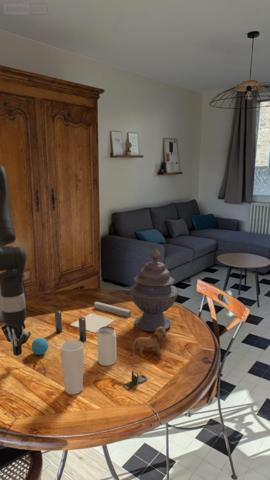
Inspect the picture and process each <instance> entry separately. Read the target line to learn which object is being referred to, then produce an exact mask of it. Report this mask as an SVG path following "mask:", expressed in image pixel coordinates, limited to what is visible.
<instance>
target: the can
mask: <svg viewBox="0 0 270 480" xmlns="http://www.w3.org/2000/svg"><path fill="white" fill-rule="evenodd" d="M115 330H116V329H115V328H114V327H113V326H109V325H107V326H104V327H101V328H99V330H98V332H97V337H96V338H97V339H96V341H97V362H98V364H100V365H101V366H104V367H110V366H113V365H115V363H116V362H117V334H116V331H115Z"/></svg>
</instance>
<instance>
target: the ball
mask: <svg viewBox="0 0 270 480" xmlns="http://www.w3.org/2000/svg"><path fill="white" fill-rule="evenodd" d="M48 349H49V342H48V340H47V339H46V338H44V337H38V338H36V339H34V340H33V341H32V342H31V351H32V352H33V353H34V354H35V355H38V356H40V355H43V354H45V353H46V352H47V351H48Z"/></svg>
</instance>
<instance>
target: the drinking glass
mask: <svg viewBox="0 0 270 480" xmlns="http://www.w3.org/2000/svg"><path fill="white" fill-rule="evenodd" d="M84 355H85V352H84V344H83V342H81V341H80V340H77V339H69V340H65V341H64V342H62V343H61V345H60V361H61V367H62V368H61V369H62V373H63V380H64V390H65V392H66V393H67V394H68V395H69V394H70V395H77V394H79V393H81V392H82V391H83V389H84V384H83V383H84V382H83V381H84V379H83V378H84V362H85V360H84V359H85V356H84Z"/></svg>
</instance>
